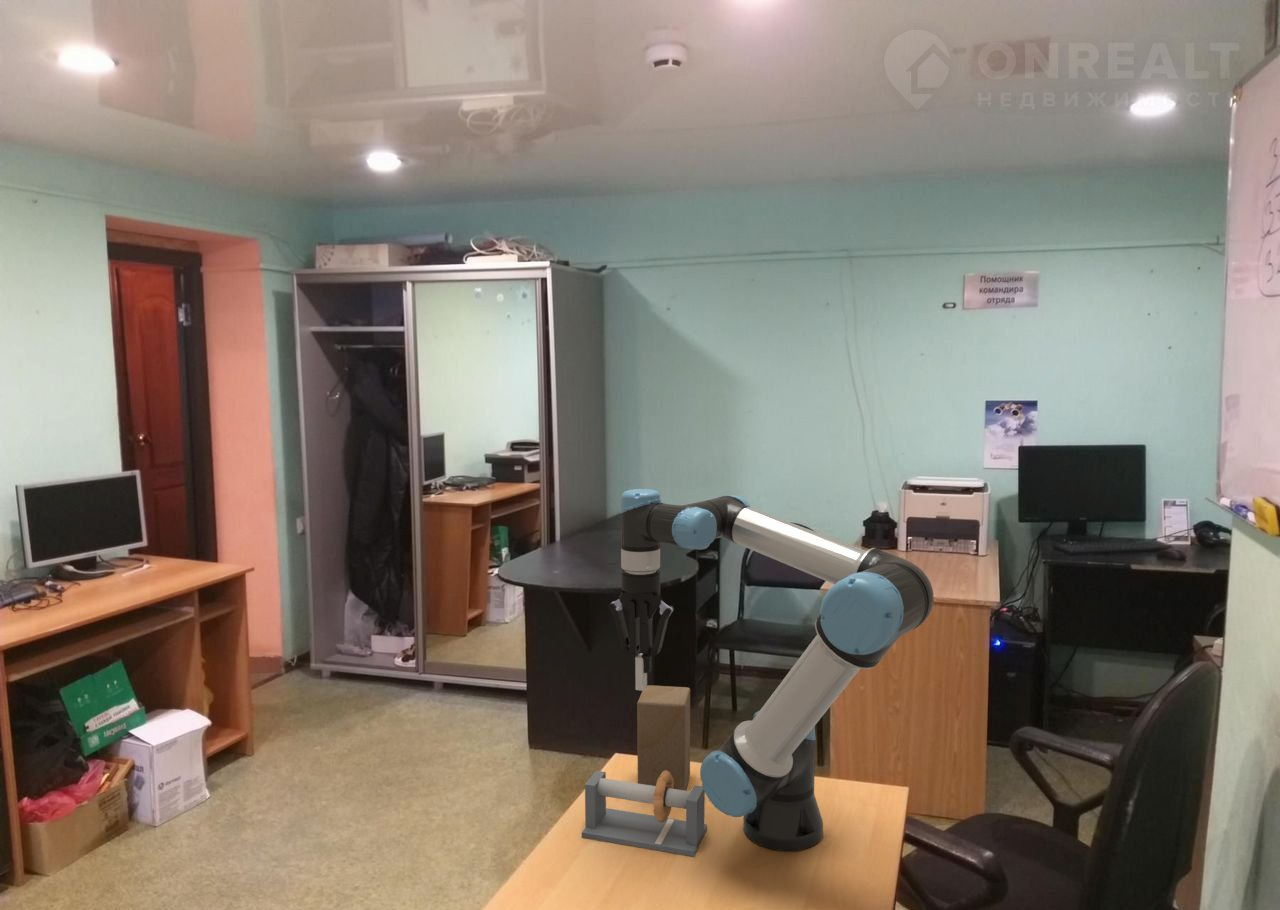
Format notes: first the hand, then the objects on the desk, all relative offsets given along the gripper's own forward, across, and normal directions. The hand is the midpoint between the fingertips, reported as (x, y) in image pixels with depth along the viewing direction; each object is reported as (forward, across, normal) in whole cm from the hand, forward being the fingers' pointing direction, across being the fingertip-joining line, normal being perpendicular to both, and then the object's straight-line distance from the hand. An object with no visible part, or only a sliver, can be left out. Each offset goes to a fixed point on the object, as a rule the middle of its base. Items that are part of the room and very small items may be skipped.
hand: (641, 687), depth 175 cm
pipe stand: (+26, -2, +6) cm, 27 cm away
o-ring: (+23, -6, +6) cm, 24 cm away
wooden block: (+27, 0, -14) cm, 30 cm away
